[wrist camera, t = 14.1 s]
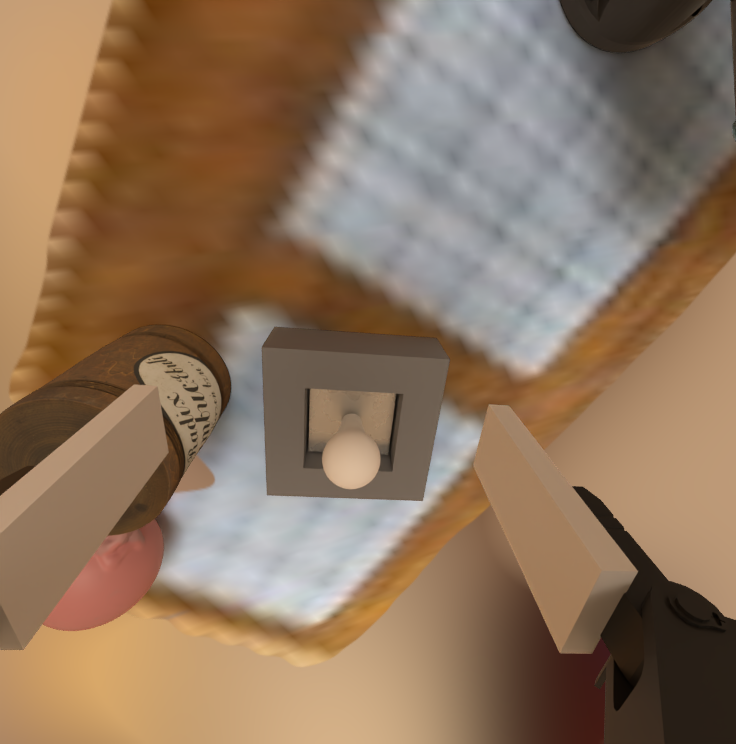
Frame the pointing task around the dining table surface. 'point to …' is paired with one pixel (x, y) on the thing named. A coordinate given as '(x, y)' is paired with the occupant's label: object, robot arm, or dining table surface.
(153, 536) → the balloon
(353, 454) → the lightbulb
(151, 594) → the dining table surface
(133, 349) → the wooden container
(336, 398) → the tan square tile
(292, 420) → the socket block
